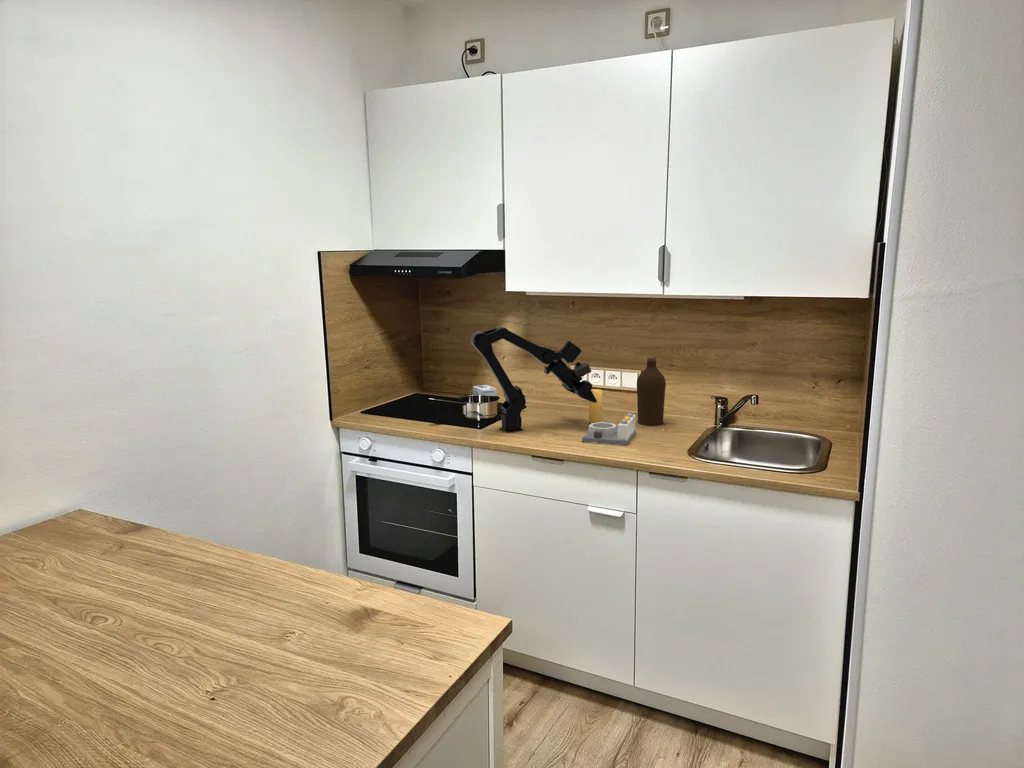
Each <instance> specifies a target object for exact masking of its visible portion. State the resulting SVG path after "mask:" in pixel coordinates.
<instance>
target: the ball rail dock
mask: <svg viewBox="0 0 1024 768" xmlns="http://www.w3.org/2000/svg"><path fill="white" fill-rule="evenodd" d="M636 420H637V419H636V414H633V413H631V412H629V413H628V412H627V414H626V415H625V416H624V418H623V419H622V420H621V421H620V423H618V424H615V423H613V422H612V421H605V420H604V421H602V422H597V423H591V424H590V423H589V425H588V431H587V432H586V433H585V434H584V435H583V436H582V437H581V441H586V442H585V443H588V442H597V443H596V444H601V443H607V444H606V445H614V444H619V445H618V446H627V445H628V444H629V442H630V441H631V440H632V438H633V437H634V436H635V434H636V433H637V430H636V429H637V428H636ZM632 436H633V437H632ZM630 439H631V440H630ZM608 443H609V444H608ZM627 443H628V444H627Z"/></svg>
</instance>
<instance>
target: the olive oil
mask: <svg viewBox="0 0 1024 768" xmlns="http://www.w3.org/2000/svg"><path fill="white" fill-rule="evenodd" d="M646 359H647V361H646V367H645V369H643V370H642V372H640V374H639V375H638V377H637V380H636V400H637V423H638V424H640V425H643V426H660V425H662V424H664V416H665V415H664V413H665V398H666V385H667V383H666V381H667V380H666V378H665V376H664V375H663V373H662V372H661V371H660V370H659V369H658V368H657V360H656V359H657V357H656V356H647V357H646Z"/></svg>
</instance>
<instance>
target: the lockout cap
mask: <svg viewBox="0 0 1024 768" xmlns="http://www.w3.org/2000/svg"><path fill="white" fill-rule="evenodd" d="M591 391H592V393H593V395H594V396H595V398H596V400H597V402H596V403H594V402H591V401H588V424H590V423H597V422H603V389H601V388H600V389H597V388H595V389H594V388H593V389H592V388H591Z"/></svg>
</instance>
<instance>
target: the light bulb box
mask: <svg viewBox="0 0 1024 768" xmlns="http://www.w3.org/2000/svg"><path fill="white" fill-rule="evenodd" d="M473 395H487V396H497V397H498V389H497V388H496V387H493V386H491V385H489V384H483V385H482V384H481V385H473V386H472V396H473Z"/></svg>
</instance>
